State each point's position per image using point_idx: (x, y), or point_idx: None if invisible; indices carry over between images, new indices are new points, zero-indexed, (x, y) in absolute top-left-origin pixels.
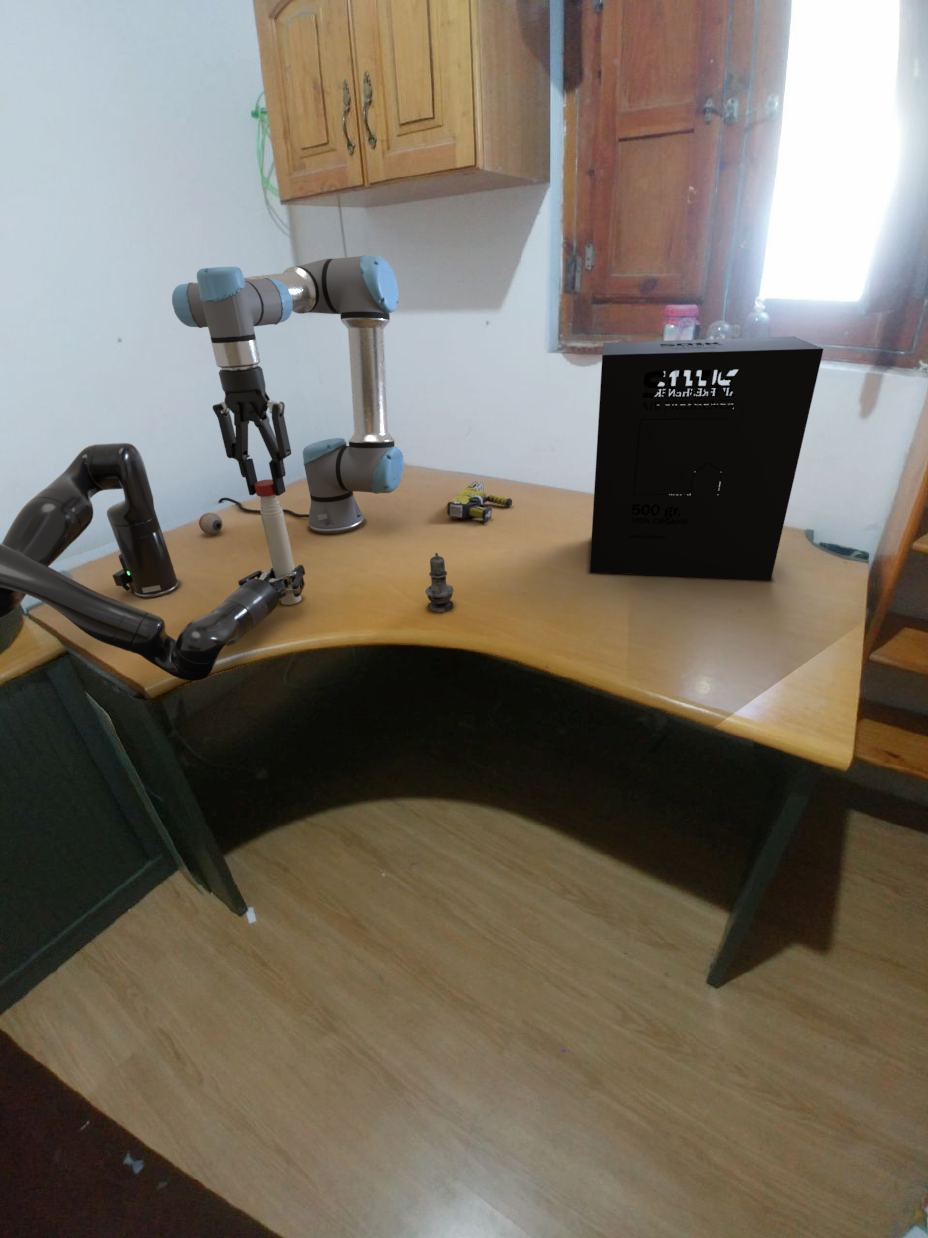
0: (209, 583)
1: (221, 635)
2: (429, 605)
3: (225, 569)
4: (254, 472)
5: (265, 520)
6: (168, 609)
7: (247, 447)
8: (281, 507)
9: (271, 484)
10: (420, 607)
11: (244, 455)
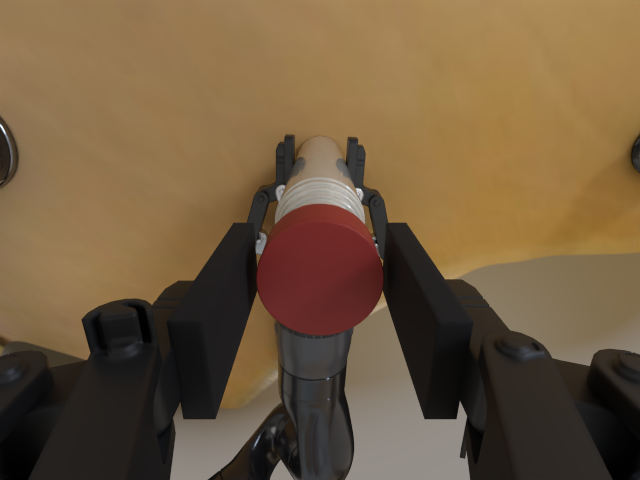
0: (69, 98)
1: (349, 449)
2: (636, 155)
3: (43, 4)
4: (232, 279)
5: None
6: (80, 226)
7: (145, 423)
8: (350, 193)
9: (373, 307)
10: (613, 157)
11: (158, 402)
